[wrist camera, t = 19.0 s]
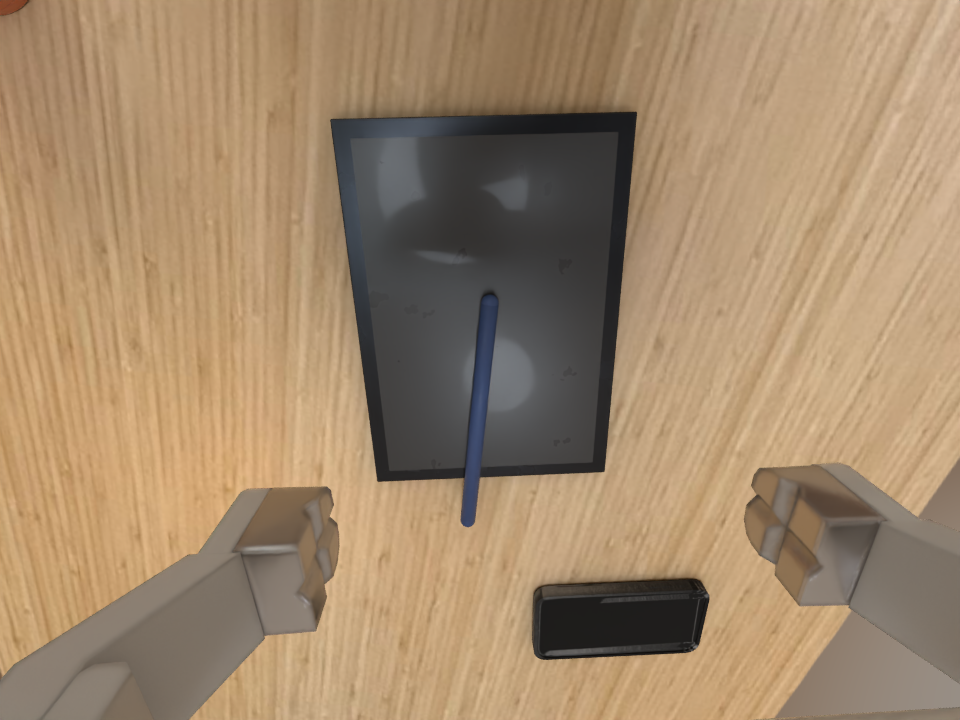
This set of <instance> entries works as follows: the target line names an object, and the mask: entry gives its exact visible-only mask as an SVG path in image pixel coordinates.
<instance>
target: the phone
mask: <svg viewBox="0 0 960 720" xmlns="http://www.w3.org/2000/svg"><path fill="white" fill-rule="evenodd" d="M708 603H709V594H708V593H707V591H706V589H705V587H704V586H703V584H702V583H701V582H700V581H698V580H693V579H690V580H668V581H645V582H623V583H601V584H579V585H557V586H544V587H541V588H539V589H538V590H536V592H535V593H534V601H533V634H532V641H533V648H534V654H535V655H536V657H538V658H539V659H543V660H552V659H572V658H592V657H613V656H633V655H654V654H674V653H688V652H691V651H693V650H695V649H696V648H697V647H698V646H699V643H700V639H701V634H702V630H703V625H704V621H705V616H706V612H707V608H708Z"/></svg>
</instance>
